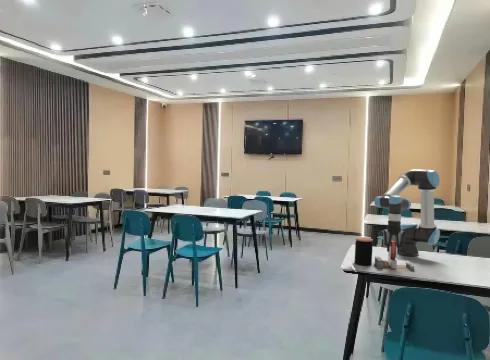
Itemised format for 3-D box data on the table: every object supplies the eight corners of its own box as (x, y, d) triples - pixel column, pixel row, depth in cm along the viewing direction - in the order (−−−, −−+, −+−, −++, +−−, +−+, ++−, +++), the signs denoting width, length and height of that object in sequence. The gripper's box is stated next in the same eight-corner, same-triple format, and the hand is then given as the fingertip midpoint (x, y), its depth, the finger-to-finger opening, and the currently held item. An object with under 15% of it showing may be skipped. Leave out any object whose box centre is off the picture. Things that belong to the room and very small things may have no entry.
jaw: (387, 264, 235) (388, 240, 235) (392, 264, 235) (394, 240, 234) (391, 268, 226) (392, 242, 226) (396, 268, 226) (398, 243, 225)
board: (373, 265, 238) (373, 255, 238) (408, 268, 236) (408, 258, 235) (377, 271, 226) (378, 260, 225) (414, 273, 223) (415, 263, 222)
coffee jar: (373, 265, 238) (374, 238, 238) (368, 269, 229) (370, 241, 229) (357, 262, 244) (358, 236, 244) (352, 266, 235) (353, 238, 235)
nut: (381, 265, 233) (381, 259, 233) (387, 266, 233) (388, 259, 233) (382, 267, 229) (383, 261, 229) (389, 267, 229) (389, 261, 229)
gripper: (382, 220, 227) (380, 257, 228) (409, 221, 225) (407, 259, 226) (379, 218, 234) (377, 254, 235) (406, 220, 232) (404, 256, 233)
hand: (392, 257), depth 230 cm, fingers closed on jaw, 3 cm apart
